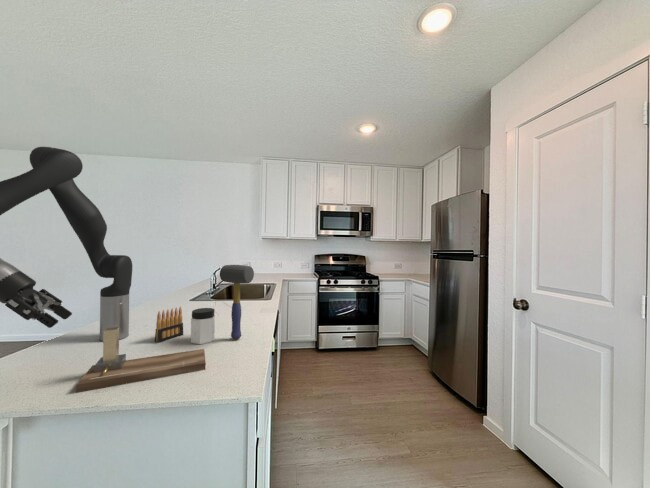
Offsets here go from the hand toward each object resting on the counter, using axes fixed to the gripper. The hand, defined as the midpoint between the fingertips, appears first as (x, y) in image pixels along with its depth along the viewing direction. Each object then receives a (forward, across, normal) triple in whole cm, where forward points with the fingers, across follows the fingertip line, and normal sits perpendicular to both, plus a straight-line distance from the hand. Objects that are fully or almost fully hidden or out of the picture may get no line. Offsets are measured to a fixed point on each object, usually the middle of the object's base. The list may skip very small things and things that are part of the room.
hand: (62, 320), depth 73 cm
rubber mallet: (+46, +14, -22) cm, 53 cm away
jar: (+37, +18, -13) cm, 44 cm away
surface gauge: (+18, -2, +3) cm, 18 cm away
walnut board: (+26, -3, -3) cm, 27 cm away
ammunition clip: (+29, +26, -5) cm, 39 cm away
